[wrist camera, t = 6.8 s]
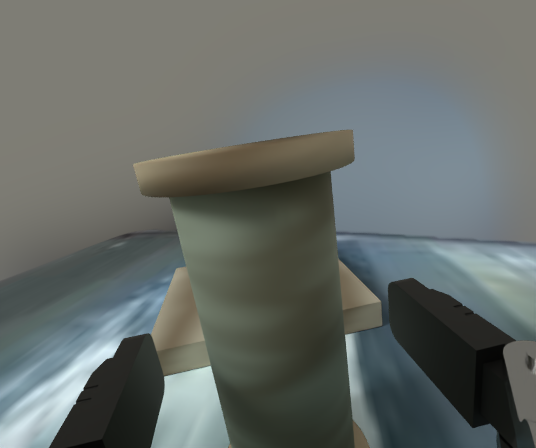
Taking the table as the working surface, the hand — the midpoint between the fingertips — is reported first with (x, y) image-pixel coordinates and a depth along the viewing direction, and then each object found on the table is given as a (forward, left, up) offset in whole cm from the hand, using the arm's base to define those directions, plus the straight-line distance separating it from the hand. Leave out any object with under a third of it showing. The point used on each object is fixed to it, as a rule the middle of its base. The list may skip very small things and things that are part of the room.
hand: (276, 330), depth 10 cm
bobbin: (0, +1, -8) cm, 8 cm away
